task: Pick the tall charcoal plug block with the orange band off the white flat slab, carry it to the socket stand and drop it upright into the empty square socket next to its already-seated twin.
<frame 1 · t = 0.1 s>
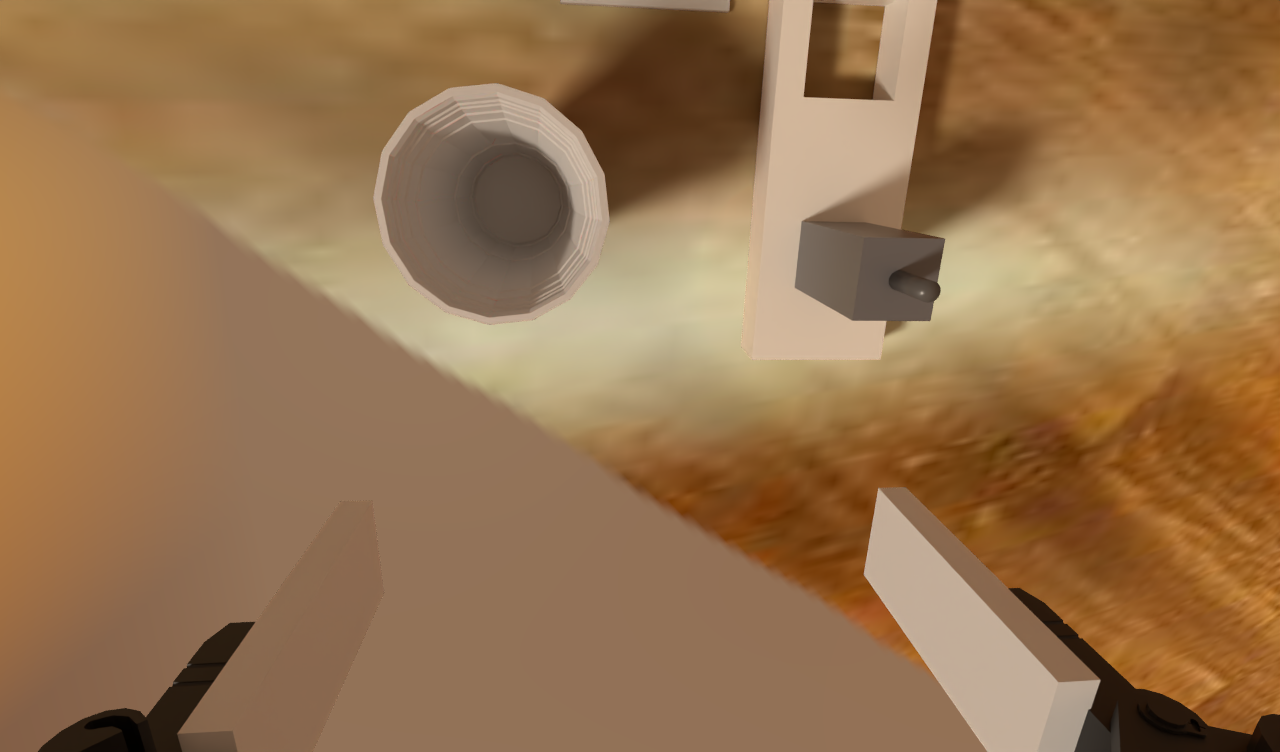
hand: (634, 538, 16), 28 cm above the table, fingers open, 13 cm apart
socket stand: (823, 156, 41), on the table
plastic cup: (516, 197, 40), on the table
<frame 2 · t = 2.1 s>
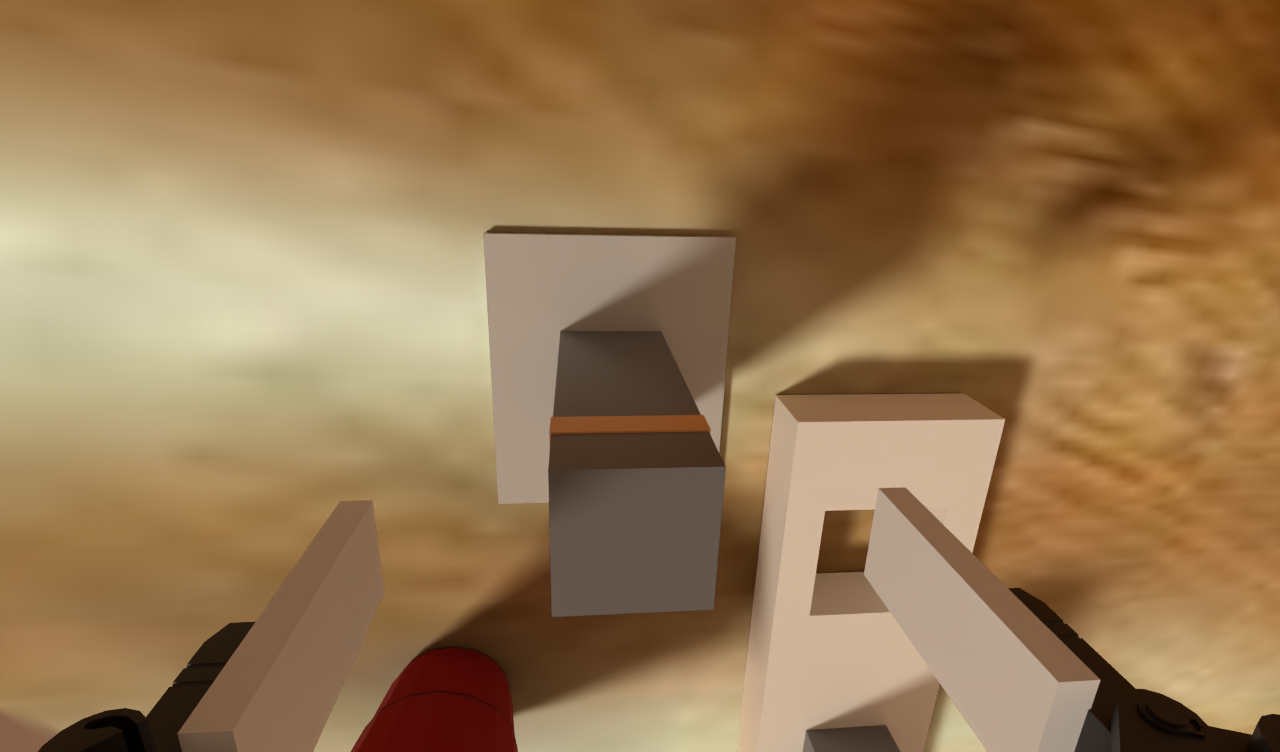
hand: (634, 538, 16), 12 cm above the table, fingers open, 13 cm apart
socket stand: (833, 622, 33), on the table
plastic cup: (451, 684, 32), on the table
plug: (610, 378, 27), resting on white flat slab
white flat slab: (610, 375, 27), on the table
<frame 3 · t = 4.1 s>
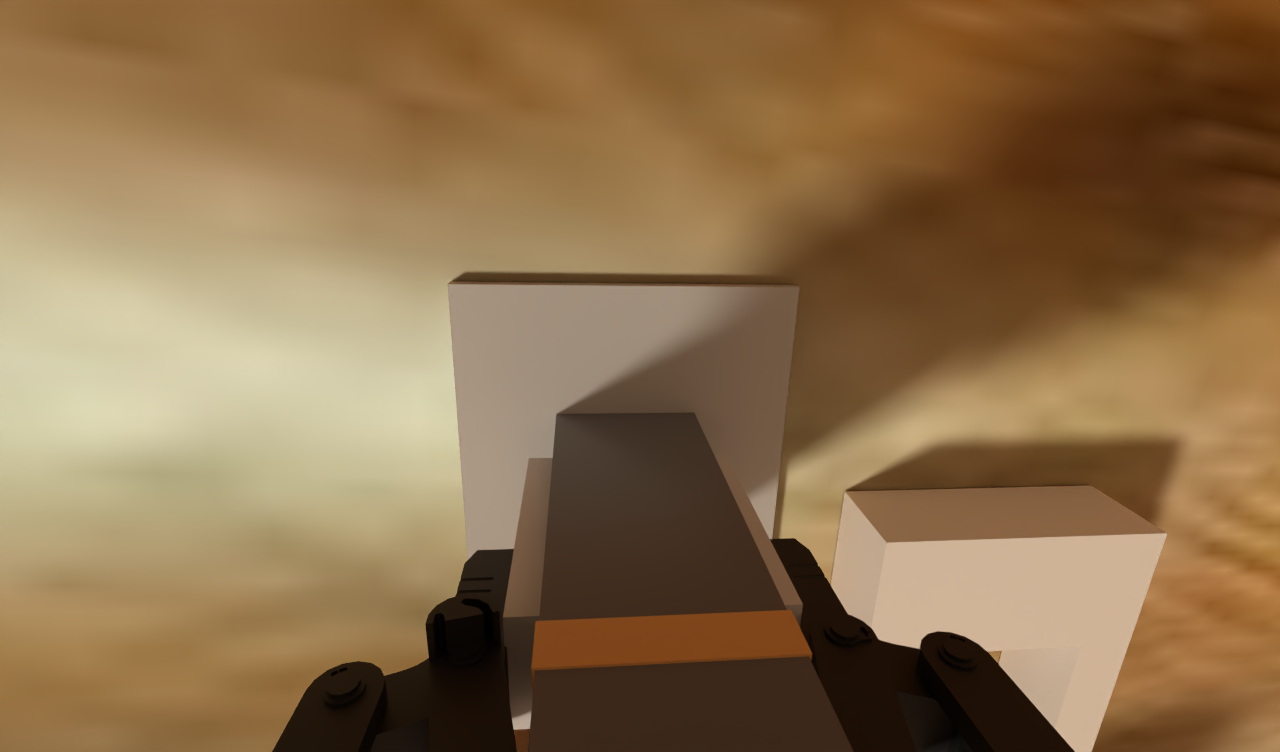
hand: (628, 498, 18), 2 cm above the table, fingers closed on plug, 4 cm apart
plug: (624, 475, 20), resting on white flat slab, touching gripper
white flat slab: (623, 469, 20), on the table
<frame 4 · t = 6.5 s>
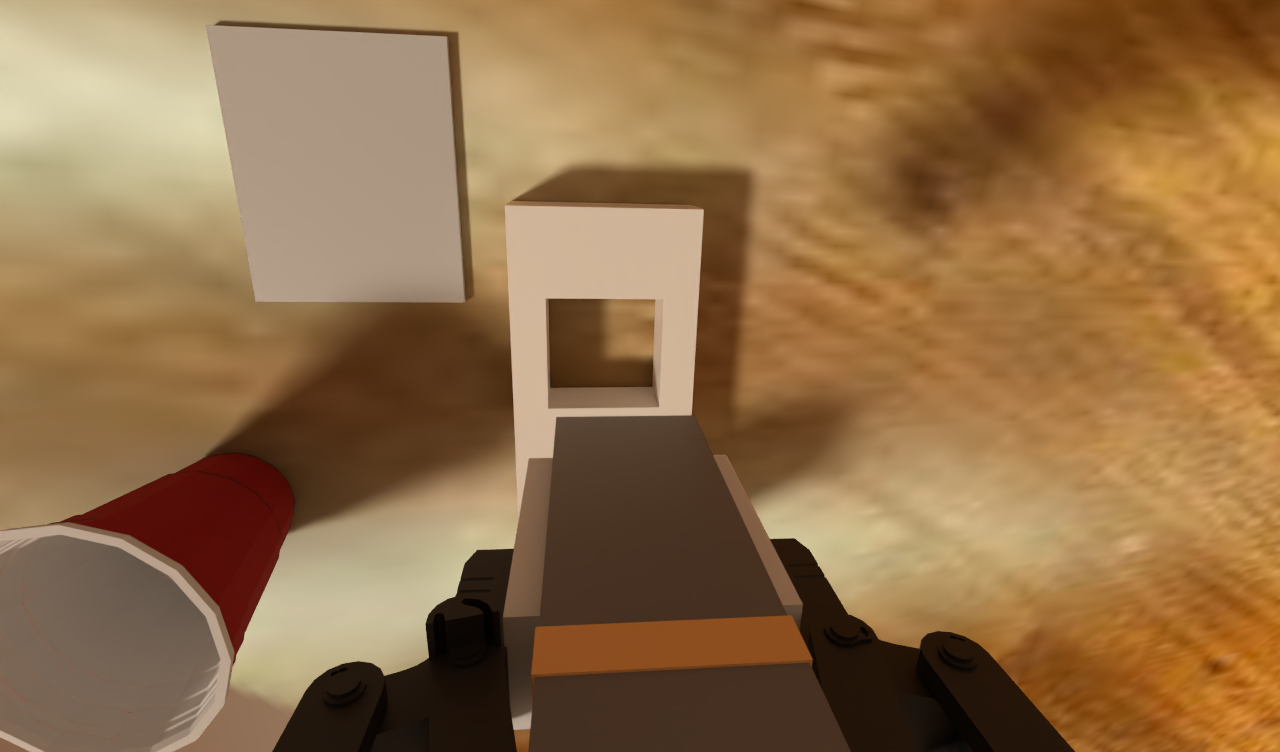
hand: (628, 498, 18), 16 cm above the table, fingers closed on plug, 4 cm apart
socket stand: (601, 440, 35), on the table
plastic cup: (239, 494, 34), on the table
plug: (624, 477, 19), point 15 cm above the table, touching gripper
white flat slab: (349, 175, 29), on the table
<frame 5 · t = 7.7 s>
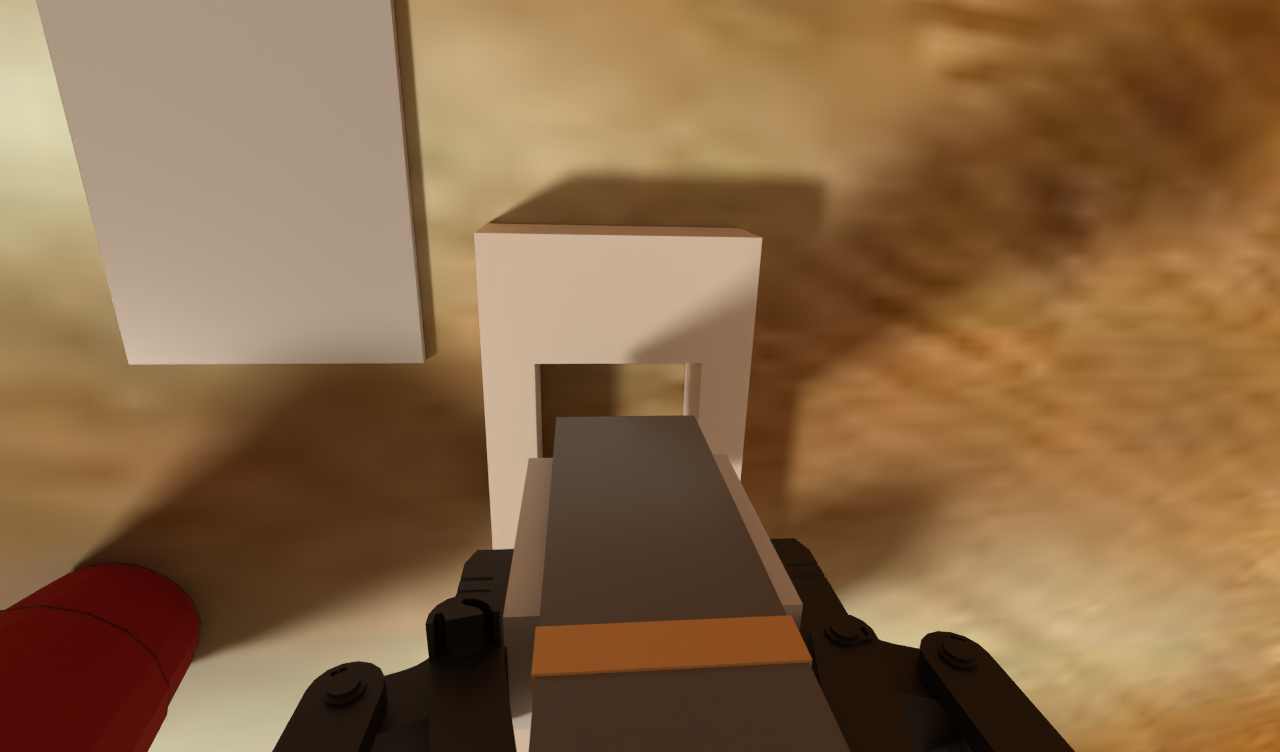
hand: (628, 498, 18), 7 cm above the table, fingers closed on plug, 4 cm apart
socket stand: (611, 538, 26), on the table
plastic cup: (125, 613, 26), on the table
plug: (624, 478, 20), point 5 cm above the table, touching gripper
white flat slab: (255, 188, 21), on the table
when the fingers open (4 cm above the table, at t = 8.9 s): plug drops 2 cm, resting in socket stand.
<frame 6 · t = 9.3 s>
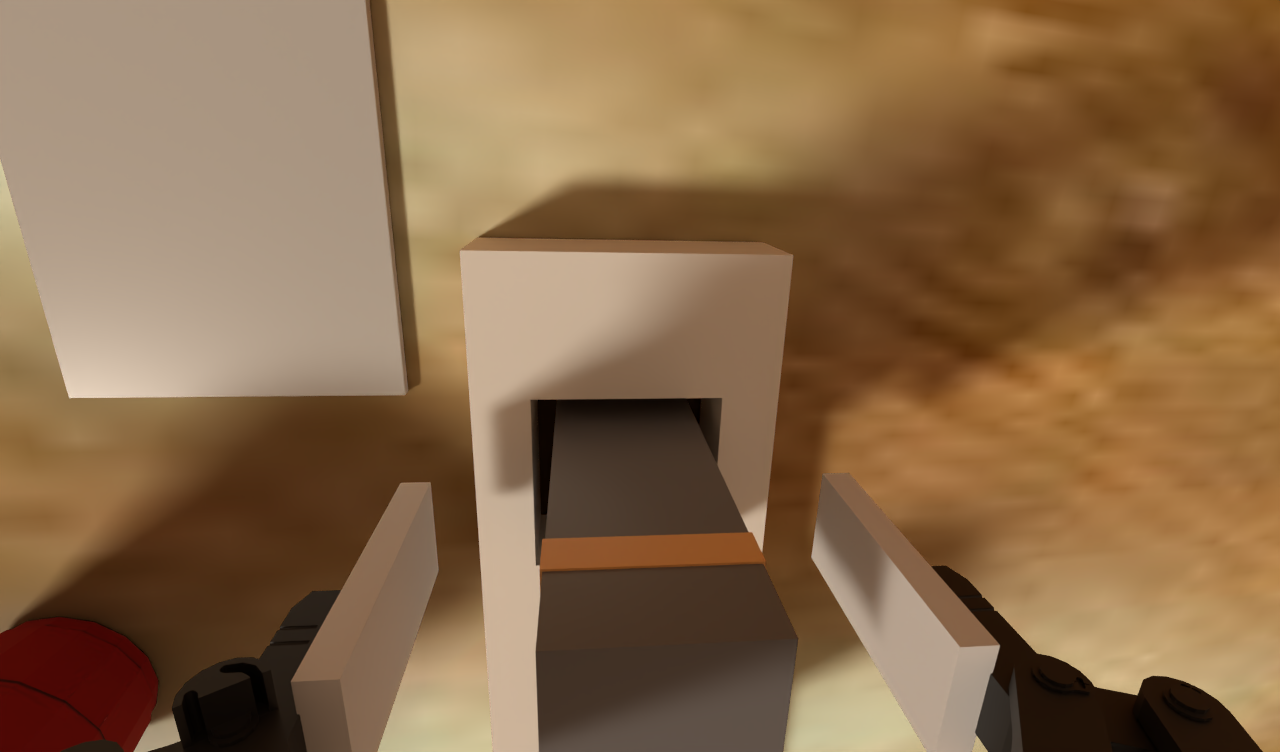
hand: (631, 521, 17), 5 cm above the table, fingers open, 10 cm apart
socket stand: (617, 586, 24), on the table
plastic cup: (74, 671, 23), on the table
plug: (619, 443, 22), resting in socket stand
white flat slab: (211, 198, 18), on the table
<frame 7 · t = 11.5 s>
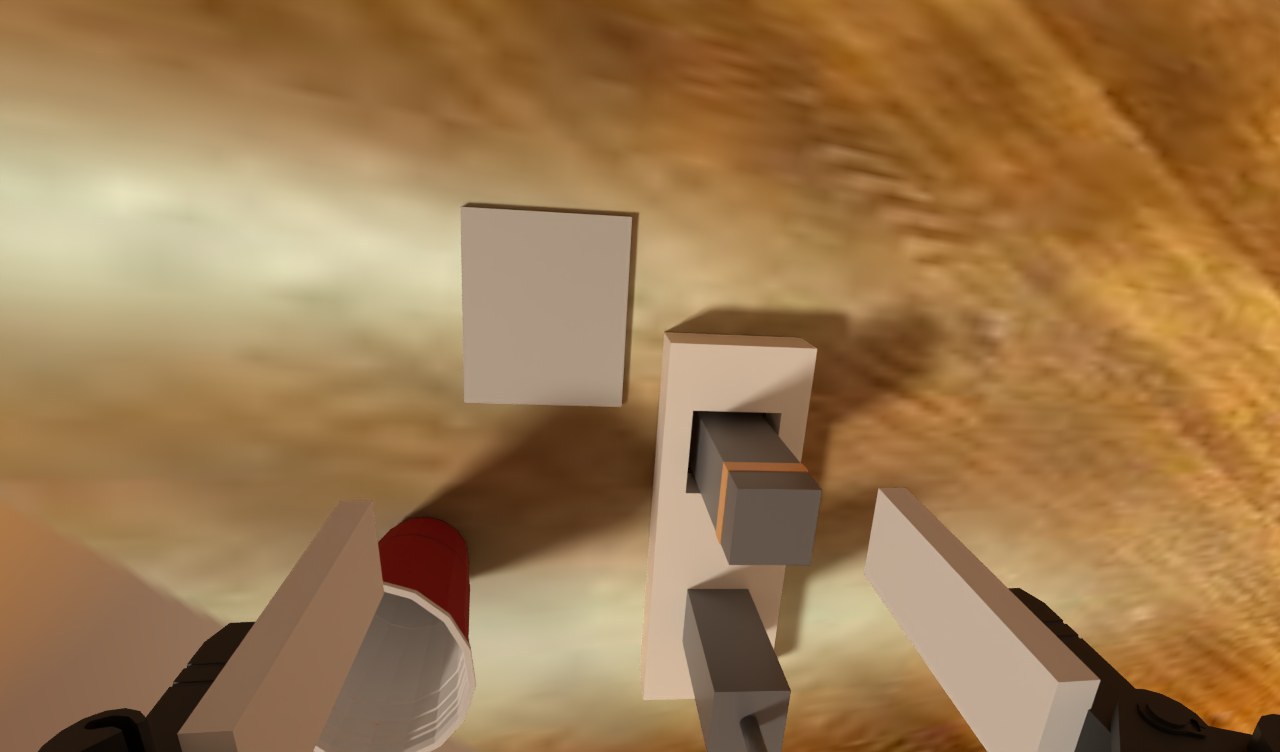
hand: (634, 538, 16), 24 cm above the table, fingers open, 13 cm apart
socket stand: (714, 515, 44), on the table
plastic cup: (424, 549, 43), on the table
plug: (722, 436, 42), resting in socket stand
white flat slab: (546, 311, 39), on the table
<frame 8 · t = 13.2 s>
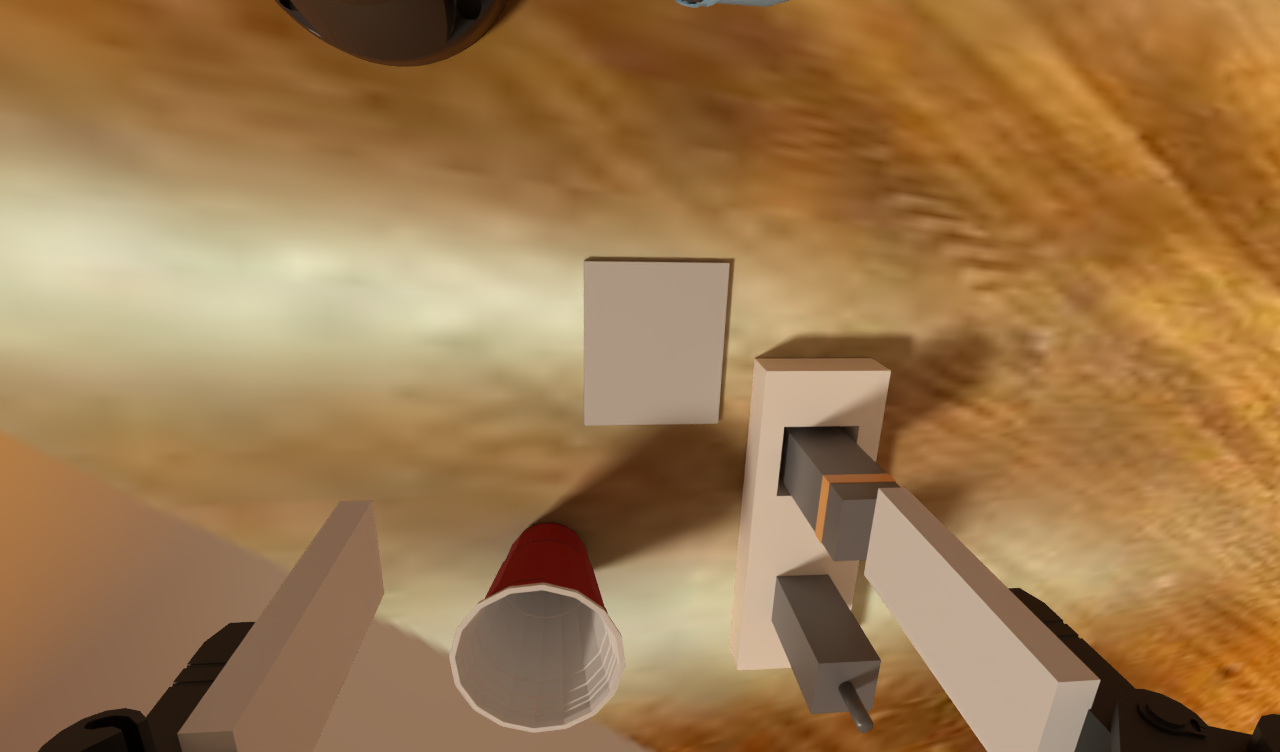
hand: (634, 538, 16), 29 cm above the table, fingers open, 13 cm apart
socket stand: (795, 511, 50), on the table
plastic cup: (546, 549, 49), on the table
plug: (803, 444, 48), resting in socket stand
white flat slab: (654, 345, 45), on the table
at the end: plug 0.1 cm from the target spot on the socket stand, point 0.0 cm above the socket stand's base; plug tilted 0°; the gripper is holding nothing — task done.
